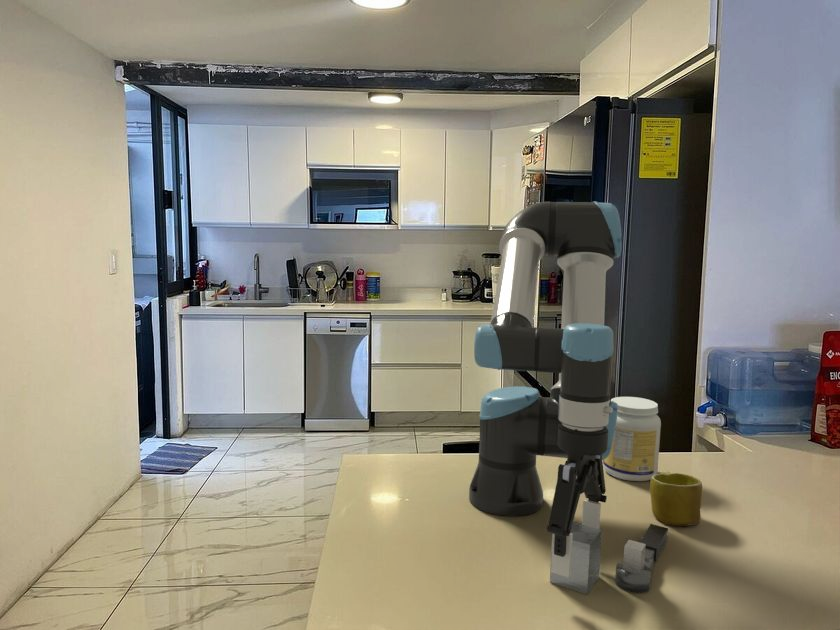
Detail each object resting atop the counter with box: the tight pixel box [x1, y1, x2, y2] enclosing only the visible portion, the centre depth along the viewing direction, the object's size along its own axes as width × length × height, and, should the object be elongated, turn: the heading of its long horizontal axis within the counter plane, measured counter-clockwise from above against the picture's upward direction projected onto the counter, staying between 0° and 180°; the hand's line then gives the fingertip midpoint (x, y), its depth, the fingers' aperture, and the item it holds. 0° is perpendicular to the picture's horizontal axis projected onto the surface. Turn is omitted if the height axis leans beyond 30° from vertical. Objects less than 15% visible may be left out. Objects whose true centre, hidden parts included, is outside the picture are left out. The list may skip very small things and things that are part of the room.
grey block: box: [549, 521, 603, 595], centre depth 99 cm, size 6×6×8 cm
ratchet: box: [614, 523, 669, 594], centre depth 105 cm, size 21×5×6 cm, turn 147°
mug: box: [649, 470, 703, 527], centre depth 123 cm, size 12×10×10 cm
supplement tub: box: [602, 396, 662, 482], centre depth 145 cm, size 12×12×17 cm
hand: (576, 555), depth 99 cm, fingers open, 13 cm apart
